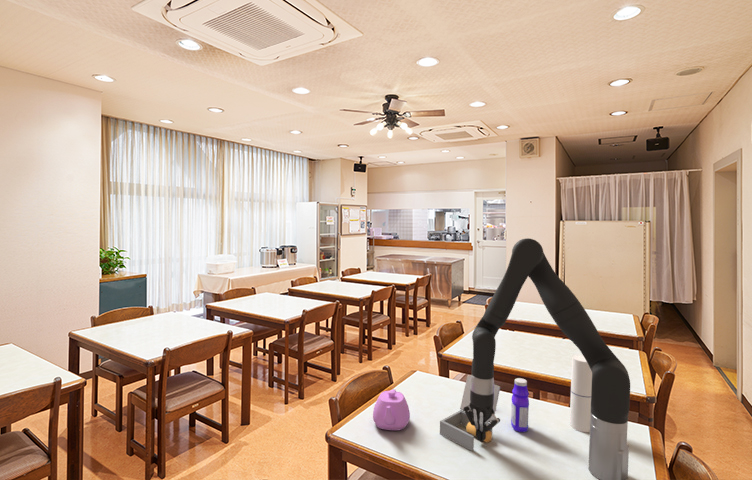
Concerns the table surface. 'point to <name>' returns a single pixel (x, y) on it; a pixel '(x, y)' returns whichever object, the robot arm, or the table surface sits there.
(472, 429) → the orange cylinder
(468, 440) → the hinged gray case
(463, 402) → the cover
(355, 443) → the table surface
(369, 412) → the table surface
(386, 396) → the teapot
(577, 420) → the cylindrical container
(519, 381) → the bottle
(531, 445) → the table surface
